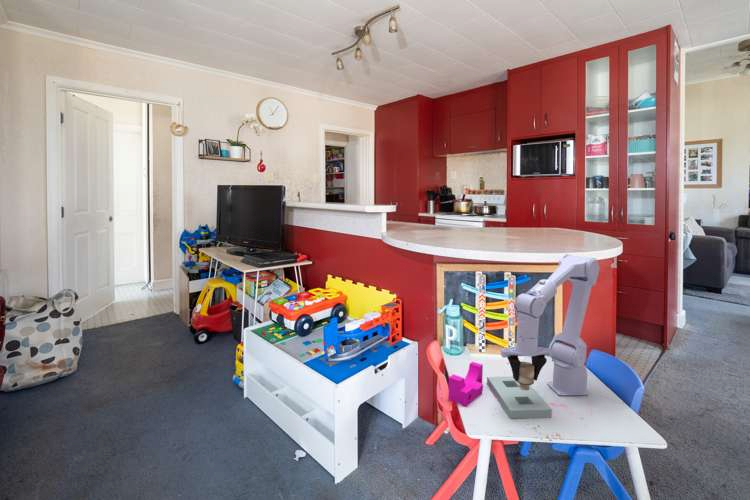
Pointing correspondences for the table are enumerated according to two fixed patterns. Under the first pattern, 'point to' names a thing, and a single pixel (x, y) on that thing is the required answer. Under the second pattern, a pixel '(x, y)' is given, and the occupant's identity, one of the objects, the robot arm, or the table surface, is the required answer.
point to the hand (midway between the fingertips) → (524, 379)
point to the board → (518, 399)
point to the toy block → (466, 385)
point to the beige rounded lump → (526, 375)
